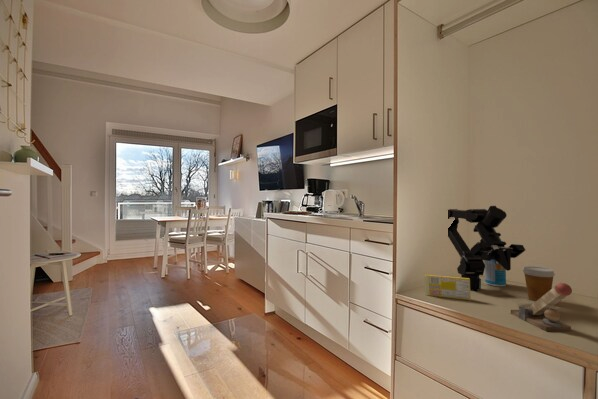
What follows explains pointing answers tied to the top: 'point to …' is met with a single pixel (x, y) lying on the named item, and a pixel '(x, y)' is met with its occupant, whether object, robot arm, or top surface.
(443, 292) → the candy box
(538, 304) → the lever
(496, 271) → the beverage bottle
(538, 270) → the disposable coffee cup
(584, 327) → the top surface
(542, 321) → the base
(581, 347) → the top surface
